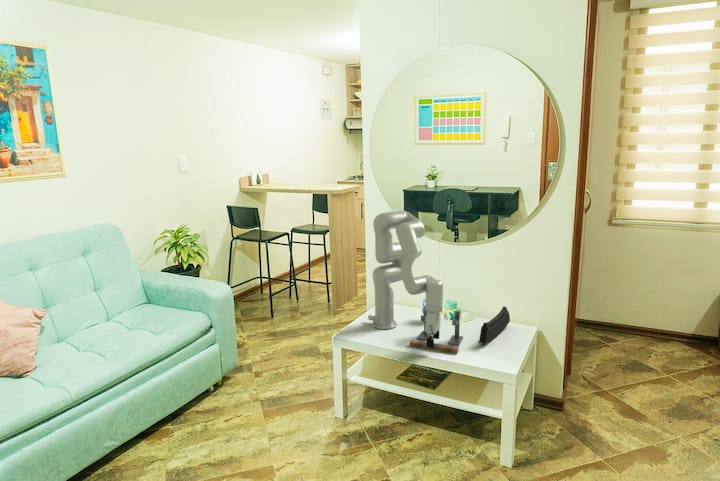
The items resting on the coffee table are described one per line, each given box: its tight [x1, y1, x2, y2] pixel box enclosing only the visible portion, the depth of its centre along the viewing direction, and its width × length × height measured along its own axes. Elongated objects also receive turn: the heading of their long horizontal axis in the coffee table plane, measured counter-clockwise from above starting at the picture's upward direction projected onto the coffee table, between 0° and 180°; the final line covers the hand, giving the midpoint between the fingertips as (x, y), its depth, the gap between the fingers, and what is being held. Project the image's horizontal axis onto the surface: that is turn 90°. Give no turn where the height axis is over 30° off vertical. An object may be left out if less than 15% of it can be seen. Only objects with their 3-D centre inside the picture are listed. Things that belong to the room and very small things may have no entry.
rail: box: [409, 339, 460, 355], centre depth 221 cm, size 22×3×2 cm, turn 68°
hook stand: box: [416, 307, 464, 347], centre depth 231 cm, size 20×9×14 cm, turn 67°
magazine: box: [479, 306, 511, 345], centre depth 234 cm, size 17×3×30 cm
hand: (432, 342), depth 221 cm, fingers open, 9 cm apart
